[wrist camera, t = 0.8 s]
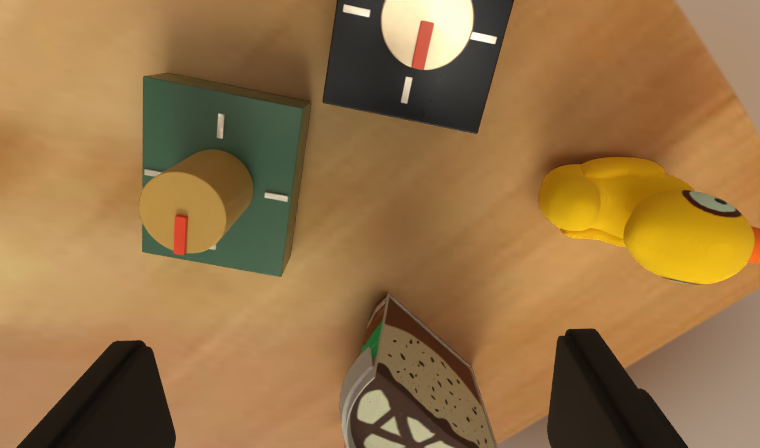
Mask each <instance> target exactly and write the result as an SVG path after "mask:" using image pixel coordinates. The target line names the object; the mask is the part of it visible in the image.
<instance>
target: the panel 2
mask: <svg viewBox="0 0 760 448" xmlns="http://www.w3.org/2000/svg"><path fill="white" fill-rule="evenodd" d="M384 1H385V0H337V5H336V12H335V19H334V26H333V33H332V40H331V46H330V53H329V60H328V67H327V74H326V81H325V88H324V95H323V103H326V104H331V105H336V106H341V107H346V108H351V109H356V110H361V111H366V112H370V113H375V114H380V115H385V116H390V117H395V118H400V119H405V120H410V121H415V122H420V123H425V124H430V125H435V126H440V127H445V128H450V129H455V130H460V131H465V132H470V133H474V134H477V133H478V130H479V126H480V122H481V119H482V115H483V111H484V108H485V104H486V100H487V97H488V93H489V89H490V86H491V82H492V78H493V75H494V71H495V68H496V64H497V60H498V57H499V53H500V49H501V46H502V42H503V38H504V35H505V31H506V27H507V24H508V20H509V16H510V13H511V9H512V5H513V2H514V0H472V3H473V7H474V27H473V32H472V35H471V38H470V40H469V42H468V44H467V46H466V47H465V49H464V50H463V51H462V53H461V54H460V55H459V56H458V57H457V58H456V59H455V60H453V61H452V62H451V63H449V64H447V65H445V66H443V67H441V68H437V69H433V70H419V69H414V68H411V67H409V66H406V65H405V64H403V63H401V62H400V61H399V60H398V59H396V58H395V57H394V55H393V54H392V53H391V52H390V50H389V49H388V47H387V45H386V43H385V41H384V38H383V35H382V31H381V11H382V7H383V3H384Z"/></svg>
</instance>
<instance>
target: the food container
mask: <svg viewBox="0 0 760 448" xmlns="http://www.w3.org/2000/svg"><path fill="white" fill-rule="evenodd" d="M339 409H340V417H341V424H342V431H343V437H344V440H345V443H346V446H347V448H498V447H497V444H496V440H495V437H494V434H493V431H492V428H491V425H490V422H489V419H488V416H487V413H486V410H485V406H484V403H483V400H482V397H481V394H480V391H479V388H478V385H477V382H476V379H475V375H474V372H473V369H472V367H471V366H470V365H469V364H468V363H467V362H466V361H464V360H463V359H462V358H461V357H460V356H459V355H458V354H457V353H456V352H454V351H453V350H452V349H451V348H450V347H449V346H448V345H447V344H445V343H444V342H443V341H442V340H441V339H440V338H439V337H438V336H436V335H435V334H434V333H433V332H432V331H431V330H430V329H429V328H427V327H426V326H425V325H424V324H423V323H422V322H421V321H420V320H419V319H417V318H416V317H415V316H414V315H413V314H412V313H411V312H410V311H408V310H407V309H406V308H405V307H404V306H403V305H402V304H401V303H399V302H398V301H397V300H396V299H395V298H394V297H393V296H392V295H390V294H389V293H388V292H387V293H386V294H385V295H384V296H383V297H382V298H381V299H380V301H379V302H378V303H377V305H376V307H375V308H374V310H373V312H372V314H371V316H370V318H369V322H368V326H367V330H366V334H365V338H364V343H363V347H362V351H361V355H360V356H359V357H358V358H357V359H356V361H355V362H354V363H353V365H352V366H351V368H350V369H349V371H348V373H347V375H346V377H345V379H344V381H343V385H342V389H341V392H340V402H339Z"/></svg>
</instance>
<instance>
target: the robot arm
mask: <svg viewBox="0 0 760 448" xmlns="http://www.w3.org/2000/svg"><path fill="white" fill-rule="evenodd" d="M547 432H548V439H549V443H550V445H551V448H688V446H687V445H686V444H685V442H684V441H683V440H682V438H681V437H680V436H679V434H678V433H677V431H676V430H675V429H674V427H673V426H672V425H671V423H670V422H669V420H668V419H667V418H666V416H665V415H664V414H663V412H662V411H661V409H660V408H659V407H658V406H657V404H656V403H655V401H654V400H653V399H652V397H651V396H650V395H649V394H648V393H647V392H646V391H645V390H643V389H638V388H637V386H636V385H635V384H634V382H633V381H632V379H631V378H630V377H629V375H628V374H627V372H626V371H625V370H624V368H623V367H622V365H621V364H620V363H619V361H618V360H617V358H616V357H615V355H614V354H613V353H612V351H611V350H610V348H609V347H608V346H607V344H606V343H605V341H604V340H603V339H602V337H601V336H600V334H599V333H598V332H597V331H596V330H595V329H568V330H567V331H566V333H565V336H559V337H558V340H557V347H556V356H555V365H554V373H553V382H552V390H551V399H550V408H549V416H548V425H547ZM175 441H176V435H175V430H174V426H173V423H172V419H171V415H170V412H169V408H168V404H167V401H166V397H165V394H164V390H163V386H162V383H161V379H160V375H159V372H158V368H157V364H156V361H155V357H154V353H153V351H152V349H151V348H150V347H146V345H145V343H144V342H143V341H140V340H137V341H116V342H113V343H112V344H111V345H110V346H109V347H108V348H107V349H106V350H105V351H104V352H103V353H102V355H101V356H100V357H99V358H98V359H97V360H96V361H95V362H94V363H93V364H92V366H91V367H90V368H89V369H88V370H87V371H86V372H85V373H84V374H83V375H82V376H81V378H80V379H79V380H78V381H77V382H76V383H75V384H74V385H73V386H72V387H71V389H70V390H69V391H68V392H67V393H66V394H65V395H64V396H63V397H62V398H61V399H60V401H59V402H58V403H57V404H56V405H55V406H54V407H53V408H52V409H51V410H50V411H49V413H48V414H47V415H46V416H45V417H44V418H43V419H42V420H41V421H40V422H39V424H38V425H37V426H36V427H35V428H34V429H33V430H32V431H31V432H30V433H29V434H28V436H27V437H26V438H25V439H24V440H23V441H22V442H21V443H20V444H19V445H18V446H17V448H174V446H175Z"/></svg>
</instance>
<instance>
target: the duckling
mask: <svg viewBox="0 0 760 448" xmlns="http://www.w3.org/2000/svg"><path fill="white" fill-rule="evenodd" d="M538 202H539V207H540V210H541V212H542V213H543V215H544V216H545V217H546V218H547V219H548V220H549V221H550V222H551V223H552V224H553V225H555V226H557V227H559V228H560V230H561V232H562V233H563V234H564V235H565V236H567V237H571V238H585V239H595V240H600V241H604V242H607V243H610V244H613V245H617V246H622V247H627V248H628V251H629V252H630V254H631V255H632V257H633V258H634V259H635V260H636V261H637V262H638V263H639V264H640V265H642V266H643V267H644V268H646V269H647V270H649V271H651V272H652V273H654V274H656V275H659V276H661V277H663V278H666V279H669V280H672V281H676V282H680V283H685V284H695V285H702V284H711V283H716V282H720V281H723V280H725V279H727V278H729V277H731V276H733V275H735V274H736V273H738V272H739V271H740V270H741V269H742V268H743V267H744V266H745V265H746V264H747V262H749V263H758V264H760V229H758V228H755V227H752V226H750V224H749V222H748V221H747V219H746V218H745V217H744V216H743V215H742V214H741V213H740V212H739V211H738V210H737V209H736V208H734V207H733V206H732V205H730V204H728V203H727V202H725V201H723V200H721V199H719V198H716V197H714V196H711V195H708V194H704V193H700V192H696V191H695V190H694V189H693V188H692V187H691V186H689V185H688V184H687V183H685V182H684V181H682V180H680V179H678V178H676V177H674V176H671V175H668V174H666V173H665V171H664V169H663V168H662V167H661V166H660V165H659V164H657V163H655V162H652V161H649V160H646V159H641V158H632V157H606V158H599V159H594V160H590V161H587V162H585V163H583V164H570V165H564V166H561V167H558V168H555V169H554V170H552V171H551V172H549V173H548V174H547V176H546V177H545V179H544V180H543V182H542V185H541V188H540V192H539V199H538Z"/></svg>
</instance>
